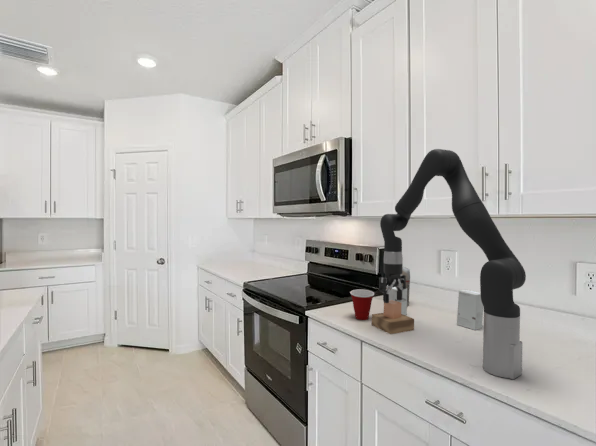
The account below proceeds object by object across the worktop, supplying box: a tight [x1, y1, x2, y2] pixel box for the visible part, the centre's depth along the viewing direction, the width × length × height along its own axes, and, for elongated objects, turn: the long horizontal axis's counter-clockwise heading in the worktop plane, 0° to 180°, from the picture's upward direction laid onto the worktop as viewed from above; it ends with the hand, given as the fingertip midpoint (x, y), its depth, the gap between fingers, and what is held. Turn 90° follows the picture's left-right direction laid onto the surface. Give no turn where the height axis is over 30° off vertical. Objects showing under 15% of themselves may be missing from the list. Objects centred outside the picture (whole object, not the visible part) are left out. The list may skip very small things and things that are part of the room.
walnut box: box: [371, 312, 415, 335], centre depth 138 cm, size 12×12×5 cm
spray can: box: [401, 266, 411, 307], centre depth 175 cm, size 8×8×20 cm
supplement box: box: [386, 287, 408, 316], centre depth 158 cm, size 7×7×13 cm
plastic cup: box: [349, 288, 375, 321], centre depth 150 cm, size 11×11×12 cm
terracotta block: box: [383, 300, 402, 319], centre depth 138 cm, size 5×5×6 cm
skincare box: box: [456, 289, 484, 331], centre depth 140 cm, size 8×6×15 cm
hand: (392, 301), depth 137 cm, fingers open, 8 cm apart
